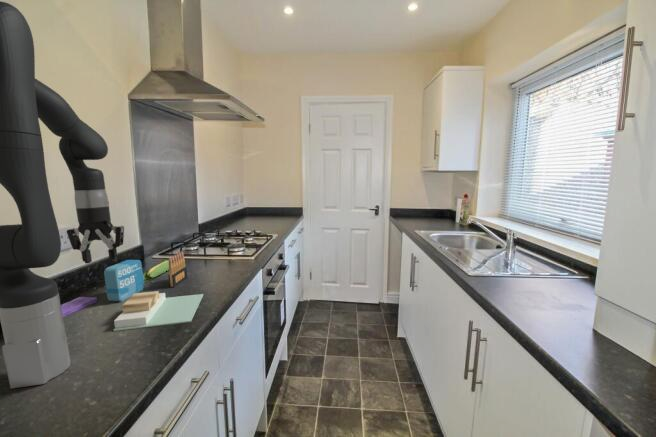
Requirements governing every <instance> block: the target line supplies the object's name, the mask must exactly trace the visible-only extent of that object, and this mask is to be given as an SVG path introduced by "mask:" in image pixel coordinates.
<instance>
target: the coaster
mask: <svg viewBox="0 0 656 437" xmlns="http://www.w3.org/2000/svg"><path fill="white" fill-rule="evenodd" d="M159 293H160V291H159V290H157V291H156V290H155V291H145V292H139V293H135V294H133V295H132V296H131V297H130V298H128V299H126V300H125V302H124V303H123V304H122V305H121V306H122V307H121V308H122V312H123V313H131V312H140V311H149V310H150V309H151V308H152V307H153V305H154V304H155V303H156V302H157V300H158V299H159Z"/></svg>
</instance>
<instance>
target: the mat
mask: <svg viewBox="0 0 656 437" xmlns="http://www.w3.org/2000/svg"><path fill="white" fill-rule="evenodd" d="M203 296H204V293H201V294H190V295H189V294H188V295H180V296H179V295H178V296H172V297H171V296H168V297H166V299H165V301H164V302H163V303H162V305H161V306H160V307H159V309H158V310H157V311H156V313H155V314H154V315H153V317H152V318H151V319H150V320H149V322H148V323H147V324H146V325H137V326H129V327H120V328H115V327H114V329H113V332H119V331H127V330H135V329H144V328H150V327H151V328H152V327H160V326H169V325H177V324H184V323H192V320H193V318H194V316H195V313H196V311H197V310H198V307H199V305H200V303H201V301H202V299H203Z"/></svg>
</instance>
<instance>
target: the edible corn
mask: <svg viewBox="0 0 656 437" xmlns="http://www.w3.org/2000/svg"><path fill="white" fill-rule="evenodd" d="M168 270H169V259H163V261H161V262H159V263H157V264H156V265H155V266H153V267H152V268H150V269H148V270H146V271H145V272H143V280H144V283H147V282H149V281H152V280H153V279H155V278H157V277H159V276H161V275H162V274H164V273H167V272H169V271H168ZM166 271H167V272H166Z"/></svg>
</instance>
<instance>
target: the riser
mask: <svg viewBox="0 0 656 437" xmlns="http://www.w3.org/2000/svg"><path fill="white" fill-rule="evenodd" d="M166 298H167V297H166V292H159V299H158V300H157V302H156V303H155V304H154V305H153V307H152V308H151V309H150V310H149V311H140V312H131V313H123V311H122V312H121V313H120V314H119V315H118V316H117V317H116V318H115V319H114V321H113V322H114V324H113V325H114V329H115V328H120V327H129V326H137V325H146V324H147V323H148V322H149V320H150V319H151V318H152V317H153V315H154V314H155V313H156V311H157V310H158V309H159V307H160V306H161V305H162V303H163V302H164V301H165V299H166Z"/></svg>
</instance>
